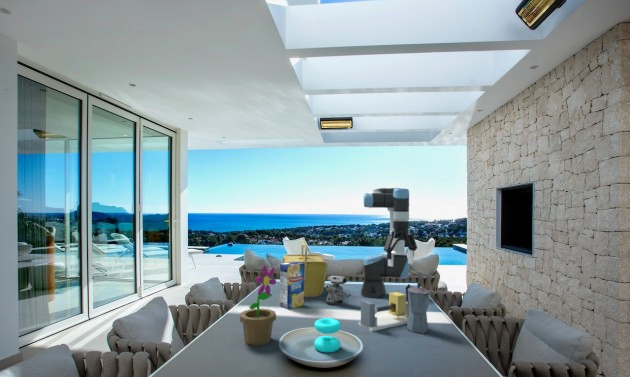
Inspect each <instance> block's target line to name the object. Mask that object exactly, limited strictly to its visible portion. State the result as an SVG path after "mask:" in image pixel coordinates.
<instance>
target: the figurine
mask: <svg viewBox="0 0 630 377" xmlns="http://www.w3.org/2000/svg"><path fill="white" fill-rule="evenodd" d="M326 279H327V282H330V283H331V284H330V283H328V284H327V285H326V287H325V289H326V290H325V292H327V296H326V302H325V304H326V305H329V306H333V305H334V302H338V303H340V304H343V302H344V301H343V300H344V298H343V297H346V298H349V297H350V296H352V293H350V292H349V294H347V293H346V292H345V291H344V287H343V286H341V285H344V284H347V283H348V279H347V277H346V276H345V275H344V276H341V275H330V276H328V277H326Z"/></svg>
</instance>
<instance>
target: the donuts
mask: <svg viewBox="0 0 630 377" xmlns="http://www.w3.org/2000/svg"><path fill="white" fill-rule="evenodd" d="M341 324H342V323H341V322H340V321H339V320H337V319H335V318H331V317H329V318H328V317H326V318H324V317H323V318H320V319H317V320H315V322H314V328H315V330H316V331H317V332H318V333H322V334H327V335H322V336H318V337H317V338H316V339H315V340H314V343H313V345H314V348H315V349H316V350H317V351H319V352H321V353H335V352H337V351H339V350H340V348H341V344H342V343H341V342H340V340H339V339H338V338H337V337H335V336H331V335H330V334H336V333H337V332H339V331H340V330H341V327H342V326H341Z"/></svg>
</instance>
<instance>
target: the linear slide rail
mask: <svg viewBox="0 0 630 377" xmlns="http://www.w3.org/2000/svg"><path fill="white" fill-rule="evenodd" d="M391 309H396V304H393V305H389V304H388V305H387V304H386V305H383V306H377V307H376V303H374V302H372V301H370V300H367V299H365V300H361V301H360V321H359V322H358V326H360V327H362V328H364V329H365V330H368V331H371V332H375V331H380V330H385V329H389V328H394V327H397V326H401V325H407V324H408V318H409V311H410V307H409V305H408V301H406V315H404V316H399V317H397V316H394V315H392V314H391V315H389V316H388V315H387V316H383V317H379V318H378V317H377V316H376V314H377V313H380V312H386V311H389V310H391Z"/></svg>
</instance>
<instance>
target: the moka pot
mask: <svg viewBox="0 0 630 377" xmlns="http://www.w3.org/2000/svg"><path fill="white" fill-rule="evenodd" d="M416 286H417V287H416ZM416 286H414V285H410V284H407V285H406V287H405V295H406V302H408V305H409V307H410V311H409V318H408V323H407V324H406V325H407V326H406V328H407V330H408V331H410V332H411V333H416V334H425V333H427V332H428V331H429V325H428V315H427V311H428V309H429V303H430V296H431V290H429V289H428V288H425V287H421V286H422V284H421V283H417V285H416Z"/></svg>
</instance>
